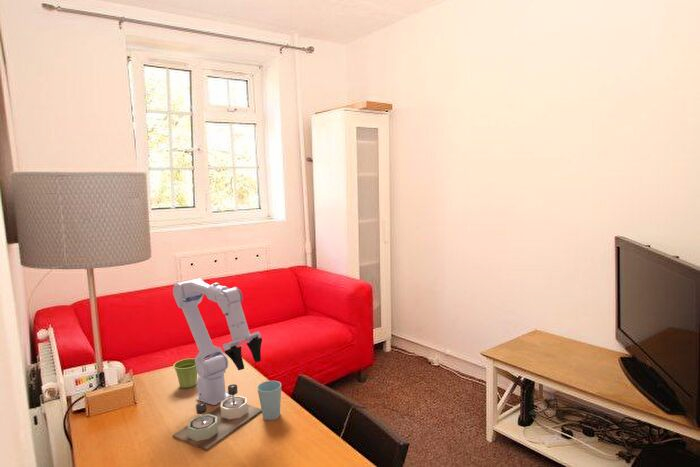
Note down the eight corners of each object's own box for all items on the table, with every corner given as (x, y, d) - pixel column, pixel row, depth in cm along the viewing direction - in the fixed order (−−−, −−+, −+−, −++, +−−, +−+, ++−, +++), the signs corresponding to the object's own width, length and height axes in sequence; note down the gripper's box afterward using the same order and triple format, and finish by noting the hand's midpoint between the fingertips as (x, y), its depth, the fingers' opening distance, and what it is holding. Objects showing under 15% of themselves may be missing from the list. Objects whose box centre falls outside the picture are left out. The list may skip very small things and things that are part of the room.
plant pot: (191, 377, 176) (189, 356, 175) (206, 382, 170) (204, 361, 169) (170, 386, 168) (168, 365, 167) (185, 392, 163) (182, 370, 162)
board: (172, 437, 135) (172, 435, 135) (230, 401, 155) (230, 399, 155) (206, 450, 127) (206, 448, 127) (262, 411, 148) (262, 409, 148)
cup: (258, 423, 140) (256, 392, 139) (260, 411, 148) (258, 381, 146) (282, 420, 141) (280, 390, 140) (283, 408, 149) (281, 379, 147)
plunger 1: (188, 425, 134) (186, 407, 133) (203, 416, 139) (202, 398, 138) (201, 430, 131) (200, 411, 130) (217, 420, 136) (215, 402, 135)
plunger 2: (220, 405, 145) (219, 388, 144) (233, 397, 150) (232, 380, 150) (233, 409, 142) (232, 392, 141) (246, 401, 147) (245, 384, 146)
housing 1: (183, 435, 134) (182, 425, 134) (205, 422, 141) (204, 412, 141) (202, 443, 130) (201, 432, 129) (223, 428, 137) (222, 418, 137)
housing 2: (216, 415, 145) (215, 405, 145) (234, 403, 152) (233, 394, 152) (234, 421, 141) (233, 411, 140) (252, 408, 148) (252, 399, 148)
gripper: (228, 327, 134) (241, 370, 133) (261, 316, 147) (273, 356, 145) (214, 332, 138) (226, 374, 136) (247, 321, 150) (259, 360, 149)
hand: (250, 365), depth 141 cm, fingers open, 7 cm apart
